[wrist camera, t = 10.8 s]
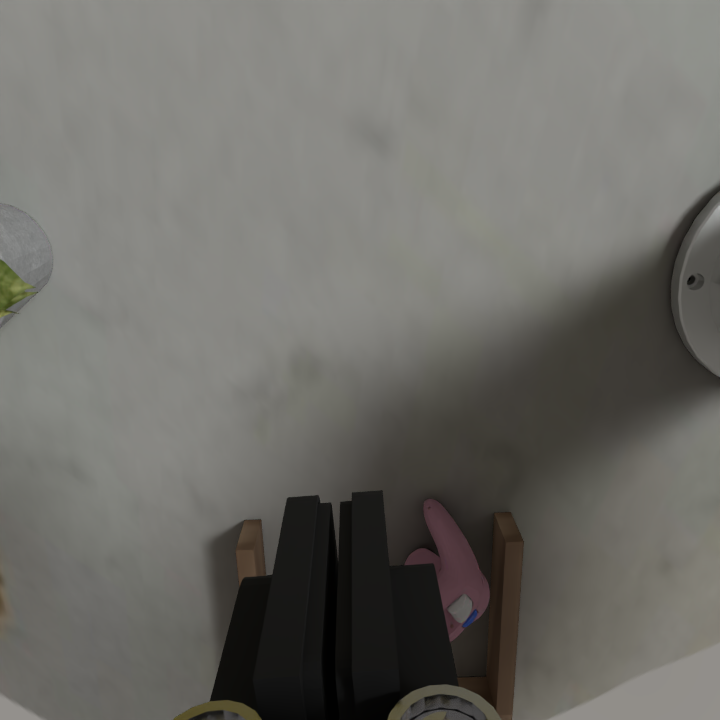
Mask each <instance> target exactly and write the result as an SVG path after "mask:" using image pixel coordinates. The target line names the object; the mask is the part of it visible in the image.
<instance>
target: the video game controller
mask: <svg viewBox="0 0 720 720" xmlns="http://www.w3.org/2000/svg"><path fill="white" fill-rule="evenodd" d="M423 512H424V516H425V520H426V524H427V526H428V528H429V531H430V533H431V535H432V537H433V539H434V542H435V544H436V546H437V549H438V552H439V555H440V557H439V556H437V555H436V554H435V553H433V552H431V551H430V550H428V549H425V548H420V549H417V550H415V551H414V552H412V553H411V554H410V555H409V556H408V558H407V559H406V562H405V564H404V565H415V564H428V563H433V564H434V566H435V570H436V575H437V580H438V585H439V590H440V595H441V600H442V605H443V610H444V615H445V620H446V625H447V629H448V634H449V639H450V642H452V641H453V640H454V639H455V638H456V637H457V636H459V635H460V633H461V632H462V631H463V630H464V629H465V628H466V627H467V626H469V625H470V624H471V623H472V622H474V621H476V620H477V619H478V618H480V616H481V615H482V614H483V613H484V611H485V610H486V608H487V605H488V603H489V598H490V590H489V585H488V582H487V579H486V577H485V576H484V574H483V573H482V572H481V571H480V568H479V565H478V562H477V560H476V558H475V555H474V553H473V551H472V549H471V547H470V545H469V543H468V541H467V540H466V538H465V536H464V535H463V533H462V532H461V530H460V528H459V527H458V525H457V524H456V523H455V521H454V520H453V518H452V517H451V515H450V514H449V513H448V512H447V511H446V509H445V508H444V507H443V506H442V505H441V504H440V503H439V502H438V501H436V500H434V499H427V500H425V502H424V506H423Z"/></svg>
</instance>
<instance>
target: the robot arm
mask: <svg viewBox="0 0 720 720" xmlns="http://www.w3.org/2000/svg"><path fill="white" fill-rule="evenodd" d="M690 276H691V279H690V281H689V282H688V283H687V281H688V278H689V277H690ZM671 308H672V312H673V317H674V321H675V326H676V328H677V331H678V333H679V335H680V337H681V339H682V341H683V343H684V345H685V347H686V348H687V349H688V350H689V352H690V353H691V354H692V356H693V357H694V358H695V359H696V360H697V361H698V362H699V363H700V364H701V365H703V366H704V367H705V368H706V369H708V370H709V371H710V372H711V373H713V374H715V375H716V376H718V377H720V191H719V192H718V193H717V194H716V195H715V196H713V197H712V199H711V200H710V201H709V202H708V204H707V205H706V206H705V207H704V208H703V210H702V211H701V212H700V213H699V214H698V216H697V217H696V218H695V220H694V222H693V224H692V225H691V227H690V229H689V231H688V232H687V234H686V236H685V237H684V239H683V242H682V245H681V247H680V250H679V253H678V255H677V258H676V261H675V265H674V270H673V276H672V281H671ZM173 720H501V718H500V716H499V715H498V713H497V712H496V710H495V709H494V707H493V706H492V705H490V704H489V703H488V702H487V701H486V700H485V699H483V698H482V697H481V696H480V695H478V694H476V693H474V692H472V691H469V690H467V689H465V688H462V687H459V684H458V679H457V674H456V669H455V664H454V659H453V654H452V649H451V644H450V639H449V634H448V629H447V625H446V620H445V615H444V610H443V605H442V600H441V595H440V590H439V585H438V580H437V575H436V570H435V566H434V564H433V563H428V564H415V565H401V566H389V558H388V547H387V536H386V525H385V514H384V502H383V491H382V490H381V491H367V492H354V493H352V501H345V502H340V527H339V557H338V558H337V549H336V540H335V530H334V521H333V512H332V505H331V503H320V498H319V495H315V496H302V497H289V498H287V501H286V506H285V512H284V517H283V522H282V528H281V533H280V538H279V543H278V549H277V554H276V559H275V564H274V570H273V575H267V576H254V577H244V578H243V579H242V582H241V584H240V587H239V591H238V595H237V599H236V603H235V607H234V611H233V614H232V618H231V622H230V626H229V630H228V634H227V637H226V641H225V645H224V649H223V653H222V657H221V661H220V664H219V668H218V672H217V676H216V680H215V684H214V687H213V691H212V695H211V699H210V702H207V703H203V704H200V705H197V706H194V707H192V708H190V709H188V710H187V711H185V712H183V713H182V714H180V715H178V716H177V717H175V718H174V719H173Z"/></svg>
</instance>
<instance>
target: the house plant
mask: <svg viewBox="0 0 720 720" xmlns="http://www.w3.org/2000/svg"><path fill="white" fill-rule="evenodd" d="M52 263H53V257H52V252H51V246H50V244H49V242H48V239H47V237H46V235H45V233H44V232H43V230H42V229H41V228H40V226H39V225H38V224H37V223H36V221H34V220H33V219H32V218H31V217H30V216H28V215H27V214H26V213H25V212H23V211H21V210H19V209H17V208H15V207H13V206H10V205H5V204H1V203H0V328H1V327H2V326H3V325H4V324H5V323H6V322H7V321H8V320H9V319H10V318H11V317H12V316H13V315H14V314H15V313H16V312H17V311H18V310H20V309H21V308H22V307H23V306H24V305H25V304H26V303H27V302H28V301H29V300H30V299H31V298H32V297H33V296H34V295H35V294H36V293H39V292H38V291H39V290H40V289H41V288H42V287H43V286H44V285H45V284H46V283H47V282H48V280H49V277H50V275H51V272H52ZM18 314H19V313H18Z"/></svg>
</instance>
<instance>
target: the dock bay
mask: <svg viewBox="0 0 720 720" xmlns="http://www.w3.org/2000/svg"><path fill="white" fill-rule="evenodd" d="M523 546H524V541H523V539H522V537H521V534H520V532H519V530H518V528H517V525H516V523H515V521H514V519H513V516H512V514H511V512H501V513H494V524H493V545H492V566H491V587H490V608H489V629H488V650H487V671H486V677H457V679H458V684H459V687H462V688H465V689H467V690H469V691H472V692H474V693H476V694H478V695H480V696H481V697H482V698H483V699H485V700H486V701H487V702H488V703H489V704H490V705H492V706H493V707H494V709H495V710H496V712H497V713H498V715H499V716H500V718H501V720H512V712H513V697H514V682H515V667H516V652H517V637H518V621H519V606H520V591H521V576H522V561H523ZM236 560H237V569H238V579H239V587H240V584H241V582H242V579H243V578H244V577H254V576H266V569H265V558H264V547H263V535H262V524H261V520H244V523H243V527H242V530H241V534H240V537H239V540H238V544H237V547H236Z"/></svg>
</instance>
